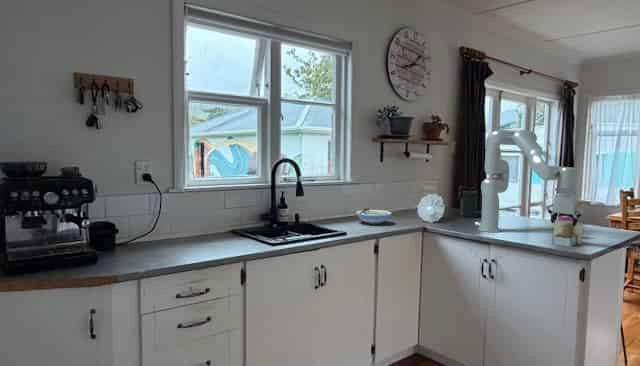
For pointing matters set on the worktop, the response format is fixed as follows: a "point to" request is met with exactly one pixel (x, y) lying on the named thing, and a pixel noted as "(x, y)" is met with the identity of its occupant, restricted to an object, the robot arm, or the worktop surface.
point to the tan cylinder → (564, 231)
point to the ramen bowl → (373, 216)
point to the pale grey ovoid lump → (431, 208)
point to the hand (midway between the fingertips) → (563, 224)
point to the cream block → (574, 234)
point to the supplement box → (565, 218)
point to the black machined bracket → (468, 202)
